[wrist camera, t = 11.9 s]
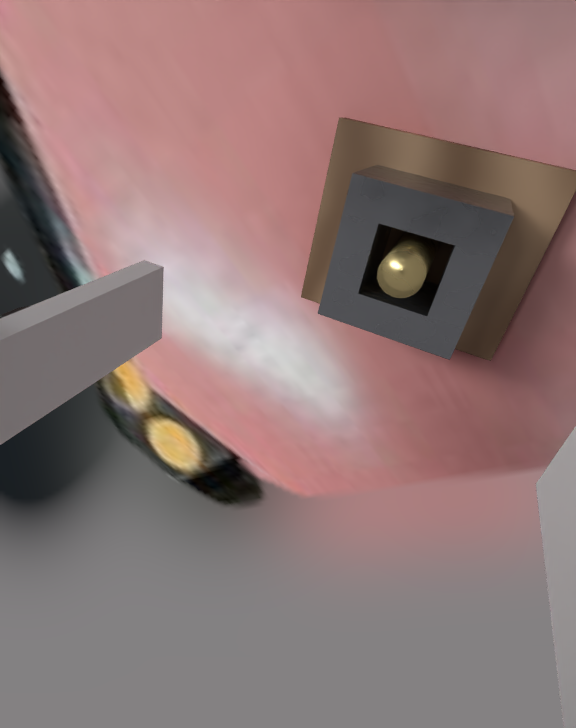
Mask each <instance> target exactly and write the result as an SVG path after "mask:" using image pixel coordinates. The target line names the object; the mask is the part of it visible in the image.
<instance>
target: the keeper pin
mask: <svg viewBox="0 0 576 728" xmlns="http://www.w3.org/2000/svg"><path fill="white" fill-rule="evenodd" d="M437 250H438V240H434V239H431V238H427V237H424V236H420V235H417V234H414V233H410V232H406V233H405V234H404V235H403V236H402V237H401V239H400V240H399V241H398V242H397V244H396V245H395V246H394V247H393V249H392V250H391V251H390V252H389V253H388V255H387V256H386V257H385V258H384V260H383V261H382V262H381V264H380V265H379V268H378V271H377V279H378V283H379V285H380V287H381V289H382V290H383V291H384V292H385V293H386V294H388V295H390V296H392V297H395V298H406V297H410V296H412V295H414V294H415V293H416V292H418V291H419V289H420V288H421V286H422V285H423V282H424V280H425V278H426V276H427V273H428V271H429V269H430V266H431V264H432V262H433V260H434V257H435V255H436V253H437Z"/></svg>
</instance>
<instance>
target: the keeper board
mask: <svg viewBox="0 0 576 728" xmlns="http://www.w3.org/2000/svg"><path fill="white" fill-rule="evenodd" d="M375 165H381V166H385V167H389V168H393V169H397V170H401V171H404V172H408V173H412V174H416V175H420V176H424V177H428V178H432V179H435V180H439V181H443V182H447V183H451V184H455V185H459V186H463V187H466V188H470V189H474V190H478V191H482V192H486V193H490V194H494V195H497V196H501V197H505V198H509V199H511V204H512V208H513V212H514V218H513V221H512V223H511V225H510V227H509V229H508V232H507V234H506V236H505V238H504V241H503V243H502V245H501V247H500V249H499V252H498V254H497V256H496V258H495V260H494V263H493V265H492V267H491V269H490V272H489V274H488V276H487V278H486V280H485V283H484V285H483V287H482V289H481V292H480V294H479V296H478V298H477V300H476V303H475V305H474V307H473V309H472V311H471V314H470V316H469V318H468V320H467V323H466V325H465V327H464V329H463V331H462V334H461V336H460V338H459V340H458V343H457V345H456V347H455V349H457V350H460V351H463V352H466V353H469V354H471V355H474V356H477V357H480V358H483V359H486V360H489V361H491V359H492V357H493V355H494V353H495V351H496V349H497V347H498V345H499V343H500V341H501V339H502V337H503V335H504V333H505V331H506V329H507V327H508V325H509V323H510V321H511V319H512V317H513V315H514V313H515V311H516V309H517V307H518V305H519V303H520V301H521V299H522V297H523V295H524V293H525V291H526V289H527V287H528V285H529V283H530V281H531V279H532V277H533V275H534V273H535V271H536V269H537V267H538V265H539V263H540V261H541V259H542V257H543V255H544V253H545V251H546V249H547V247H548V245H549V243H550V241H551V239H552V237H553V235H554V233H555V231H556V229H557V227H558V225H559V223H560V221H561V219H562V217H563V215H564V213H565V211H566V209H567V207H568V205H569V203H570V201H571V199H572V197H573V195H574V193H575V191H576V170H572V169H567V168H563V167H559V166H554V165H550V164H546V163H541V162H537V161H532V160H528V159H524V158H519V157H515V156H511V155H506V154H502V153H497V152H493V151H489V150H484V149H480V148H476V147H471V146H467V145H462V144H458V143H454V142H449V141H445V140H440V139H436V138H432V137H427V136H423V135H419V134H414V133H410V132H405V131H401V130H397V129H392V128H388V127H384V126H379V125H375V124H370V123H366V122H362V121H357V120H353V119H348V118H339V121H338V125H337V130H336V135H335V139H334V144H333V149H332V154H331V158H330V163H329V168H328V172H327V177H326V182H325V186H324V191H323V196H322V201H321V205H320V210H319V215H318V219H317V224H316V229H315V233H314V238H313V243H312V248H311V252H310V257H309V262H308V266H307V271H306V276H305V280H304V285H303V290H302V295H301V297H302V298H305V299H308V300H311V301H314V302H317V303H320V302H321V298H322V294H323V290H324V286H325V282H326V278H327V274H328V270H329V266H330V262H331V258H332V254H333V250H334V246H335V241H336V237H337V233H338V229H339V225H340V221H341V217H342V213H343V209H344V205H345V201H346V197H347V193H348V189H349V185H350V181H351V177H352V173H354V172H357V171H360V170H363V169H366V168H369V167H372V166H375ZM406 232H407V231H403V230H400V229H396V228H393V227H392V229H391V232H390V235H389V239H388V242H387V245H386V248H385V252H384V255H383V258H382V261H383V260H384V258H385V257H386V256H387V255H388V253H389V252H390V251H391V250H392V249H393V247H394V246H395V245H396V244H397V242H398V241H399V240H400V239H401V237H402V236H403V235H404V234H405V233H406ZM453 246H454V245H452V244H448V243H445V242H441V241H438V250H437V253H436V255H435V257H434V260H433V262H432V264H431V266H430V269H429V271H428V273H427V276H426V278H425V280H426V281H429V282H432V283H435V284H439V281H440V279H441V276H442V274H443V271H444V268H445V266H446V263H447V261H448V258H449V256H450V253H451V251H452V248H453ZM382 261H381V262H382Z"/></svg>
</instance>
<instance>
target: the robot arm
mask: <svg viewBox="0 0 576 728" xmlns="http://www.w3.org/2000/svg"><path fill="white" fill-rule="evenodd" d="M163 268H164V267H162V266H159V265H156V264H154V263H151V262H148V261H145V260H144V261H141V262H139V263H136V264H134V265H131V266H129V267H126V268H124V269H121V270H119V271H116V272H114V273H112V274H109V275H107V276H104V277H102V278H99V279H97V280H94V281H92V282H89V283H87V284H84V285H82V286H79V287H77V288H74V289H72V290H70V291H67V292H65V293H62V294H60V295H57V296H55V297H52V298H50V299H47V300H45V301H42V302H40V303H37V304H35V305H32V306H27V307H21V308H17V309H14V310H12V311H10V312H7V313H4V314H2V315H0V445H1V444H2V443H4V442H5V441H7V440H8V439H10V438H11V437H13V436H14V435H16V434H17V433H19V432H20V431H22V430H23V429H25V428H26V427H28V426H29V425H31V424H33V423H34V422H35V421H37V420H38V419H40V418H42V417H43V416H45V415H46V414H47V413H49V412H51V411H52V410H54V409H55V408H57V407H58V406H60V405H61V404H63V403H64V402H66V401H67V400H69V399H70V398H72V397H73V396H75V395H76V394H78V393H79V392H81V391H82V390H84V389H85V388H87V387H89V386H90V385H92V384H93V383H95V382H96V381H98V380H99V379H101V378H102V377H104V376H105V375H107V374H108V373H110V372H111V371H113V370H114V369H116V368H117V367H119V366H120V365H122V364H123V363H125V362H126V361H128V360H129V359H131V358H132V357H134V356H135V355H137V354H139V353H140V352H142V351H143V350H145V349H146V348H148V347H149V346H151V345H152V344H154V343H155V342H157V341H158V340H160V339H161V338H162V305H163ZM536 491H537V499H538V508H539V517H540V526H541V534H542V543H543V551H544V561H545V569H546V578H547V587H548V595H549V604H550V612H551V622H552V629H553V639H554V648H555V657H556V665H557V674H558V683H559V691H560V700H561V709H562V718H563V726H564V728H576V426H575V428H574V429H573V431H572V432H571V434H570V435H569V437H568V438H567V439H566V441H565V442H564V444H563V445H562V447H561V448H560V450H559V451H558V452H557V454H556V455H555V457H554V458H553V460H552V461H551V463H550V464H549V466H548V467H547V468H546V470H545V471H544V473H543V474H542V476H541V477H540V479H539V480H538V481H537V483H536Z"/></svg>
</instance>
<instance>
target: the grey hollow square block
mask: <svg viewBox="0 0 576 728" xmlns="http://www.w3.org/2000/svg"><path fill="white" fill-rule="evenodd" d="M513 218H514V212H513V208H512V204H511V199H509V198H505V197H501V196H497V195H494V194H490V193H486V192H482V191H478V190H474V189H470V188H466V187H463V186H459V185H455V184H451V183H447V182H443V181H439V180H435V179H432V178H428V177H424V176H420V175H416V174H412V173H408V172H404V171H401V170H397V169H393V168H389V167H385V166H381V165H375V166H372V167H369V168H366V169H363V170H360V171H357V172H354V173H352V177H351V181H350V185H349V189H348V193H347V197H346V201H345V205H344V209H343V213H342V217H341V221H340V225H339V229H338V233H337V237H336V241H335V246H334V250H333V254H332V258H331V262H330V266H329V270H328V274H327V278H326V282H325V286H324V290H323V294H322V298H321V302H320V306H319V310H318V314H320V315H323V316H326V317H329V318H332V319H335V320H338V321H340V322H343V323H346V324H349V325H352V326H355V327H358V328H360V329H363V330H366V331H369V332H372V333H375V334H378V335H380V336H383V337H386V338H389V339H392V340H395V341H398V342H400V343H403V344H406V345H409V346H412V347H415V348H418V349H420V350H423V351H426V352H429V353H432V354H435V355H438V356H440V357H443V358H446V359H449V360H450V358H451V356H452V354H453V351H454V349H455V347H456V345H457V343H458V340H459V338H460V336H461V334H462V331H463V329H464V327H465V325H466V323H467V320H468V318H469V316H470V314H471V311H472V309H473V307H474V305H475V303H476V300H477V298H478V296H479V294H480V292H481V289H482V287H483V285H484V283H485V280H486V278H487V276H488V274H489V272H490V269H491V267H492V265H493V263H494V260H495V258H496V256H497V254H498V252H499V249H500V247H501V245H502V243H503V241H504V238H505V236H506V234H507V232H508V229H509V227H510V225H511V223H512V221H513ZM392 227H393V228H396V229H400V230H403V231H407V232H410V233H414V234H417V235H420V236H424V237H427V238H431V239H434V240H438V241H441V242H445V243H448V244H452V245H454V246H453V248H452V251H451V253H450V256H449V258H448V261H447V263H446V266H445V268H444V271H443V274H442V276H441V279H440V281H439V284H435V283H432V282H429V281H426V280H424V282H423V285H422V286H421V288H420V289H419V291H418V292H416V293H415V294H414V295H412V296H410V297H406V298H395V297H392V296H390V295H388V294H386V293H385V292H384V291H383V290H382V289H381V287H380V285H379V283H378V279H377V271H378V268H379V265H380V264H381V261H382V258H383V255H384V252H385V248H386V245H387V242H388V239H389V235H390V232H391V229H392Z"/></svg>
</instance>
